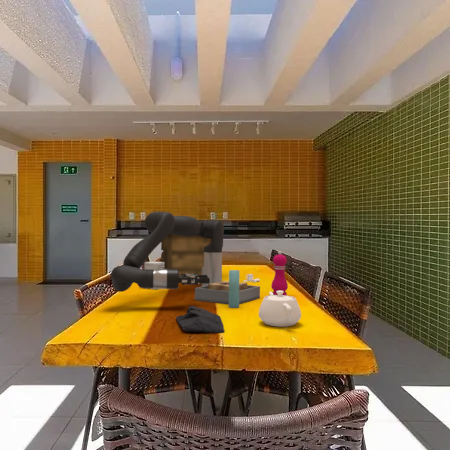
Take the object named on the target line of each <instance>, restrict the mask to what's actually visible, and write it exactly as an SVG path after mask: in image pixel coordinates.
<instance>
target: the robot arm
mask: <svg viewBox="0 0 450 450" xmlns="http://www.w3.org/2000/svg"><path fill="white" fill-rule="evenodd" d="M144 227H145V229H146V230H147V231H148V232H149V234H148V235H147V236H146V237H144V238H143V239H141V240H140V241H138V242H136V244H135V245H134V246H133V247H131V249H130V250H129V252H128V253H127V255H126V256H125V257H124V259H123V263H122V264H121V265H118V266H115V267H114V268H113V269H112V270H111V273H110V276H111V285H112V287H113V288H114V290H115V291H117V292H121V293H122V292H125V291H127V290H129V289H130V288H131V286H132V285H133V283H135V284H137V286H138V287H139V288H142V289H148V288H157V289H156V290H177V289H179V284H181V285H182V286H187V285H190V286H191V285H192V286H194V285H195V286H196V285H199V284H200V285H201V287H202V286H207V285H208V284H211V283H216V282H221V281H222V280H223V278H222V275H223V266H222V265H223V247H224V234H225V227H224V222H223V223H222V222H221V220H219V219H218V220H217V219H208V220H207V219H206V220H198V219H197V218H196V217H194V216H189V215H173V213H171V212H168V211H153V212H152V211H151V212H150V213H149V214H147V215H146V217H145V219H144ZM170 233H171V234H175V235H181V236H189V237H191V236H195V235H197V236H201V237H204V238H212V243H211V244H209V245H207V246H205V247H204V267H202V275H197V274H187V273H183V274H181V275H179V270H178V269H144V268H142V266H143V264H145V262H146V260H147V259H148V257H149V256H150V255H151V253H153V251H154V250H155V249H156V248H157V247H158V246H159V245H160V244H161V242H162V241H163V240H164V238H166V237H167V236H168V235H169V234H170Z"/></svg>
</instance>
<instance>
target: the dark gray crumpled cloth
mask: <svg viewBox="0 0 450 450" xmlns="http://www.w3.org/2000/svg"><path fill="white" fill-rule="evenodd" d="M175 319H176V321H177V323H178V324H179V326H180V327H181V329H182V330H183V331H185V332H186V333H205V334H206V333H207V334H209V333H210V334H221V333H222V334H223V333H225V328H224V323H223V320H222V318H221V315H218V314H216V313H213V312H211V311H209V310H207V309H205V308H202V307H197V306H195V305H189V307H188V308H187V309H186V313H184V315H183V314H182V315H180V314H179V316H176V317H175Z"/></svg>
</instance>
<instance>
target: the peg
mask: <svg viewBox="0 0 450 450" xmlns="http://www.w3.org/2000/svg"><path fill="white" fill-rule="evenodd" d="M228 281H229V304H228V308H231V309H237V308H238V309H239V308H240V304H239V282H240V270H237V269H230V270H229V271H228Z"/></svg>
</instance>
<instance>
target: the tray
mask: <svg viewBox="0 0 450 450" xmlns="http://www.w3.org/2000/svg"><path fill="white" fill-rule="evenodd" d="M260 298H261V286H259V285H249V284H247V289H245V290H241V291H239V305H242V304H244V303H248V302H251V301H255V300H258V299H260ZM194 301H198V302H199V301H200V302H207V303H215V304H216V303H217V304H222V305H229V291H221V290H212V289H208V285H207V286H202V285H201V286H198V287H195V288H194Z"/></svg>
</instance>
